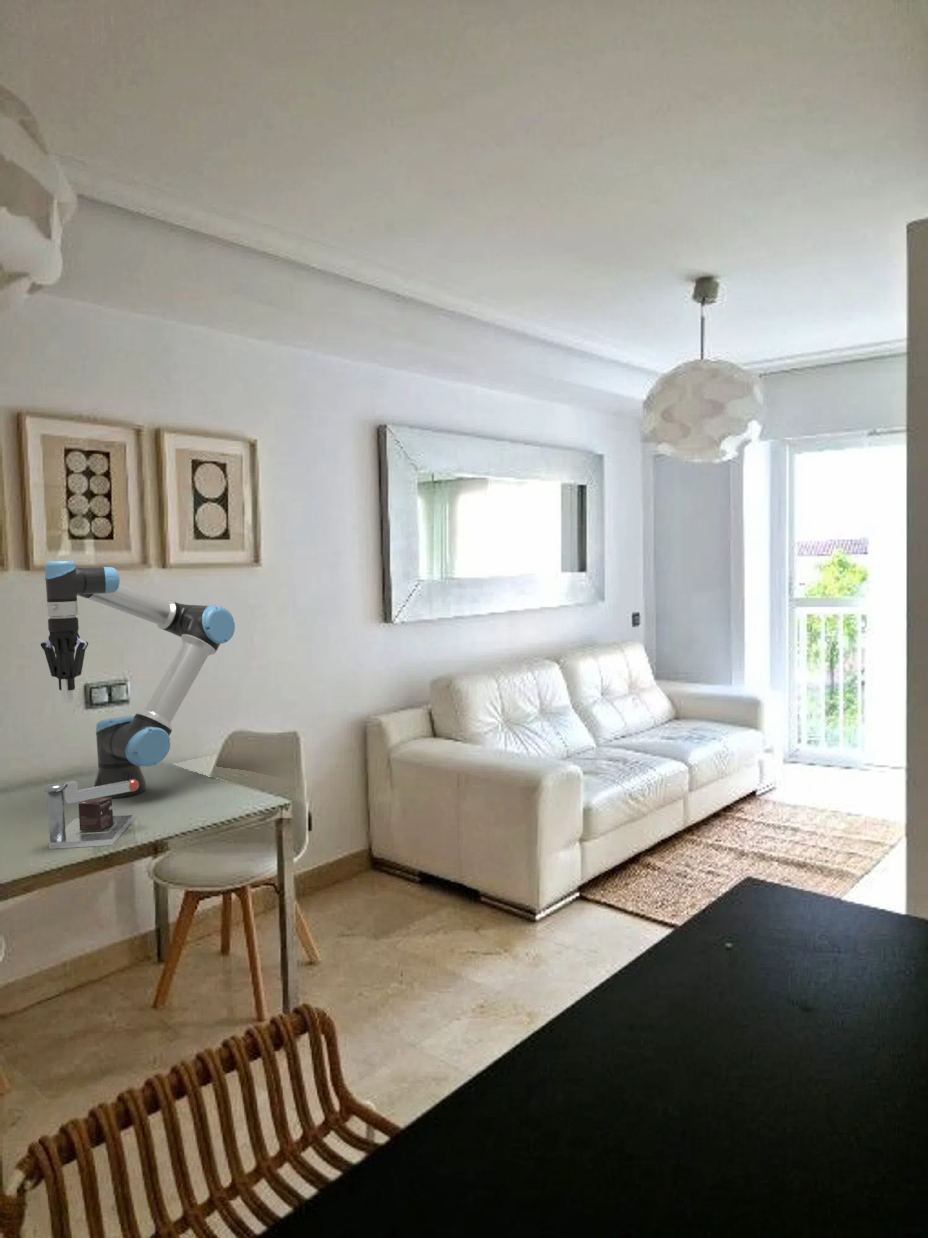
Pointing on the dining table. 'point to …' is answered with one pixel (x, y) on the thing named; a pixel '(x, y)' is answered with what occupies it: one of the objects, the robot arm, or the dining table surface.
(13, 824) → the dining table surface
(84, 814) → the box
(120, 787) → the lever
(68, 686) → the robot arm
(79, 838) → the press
